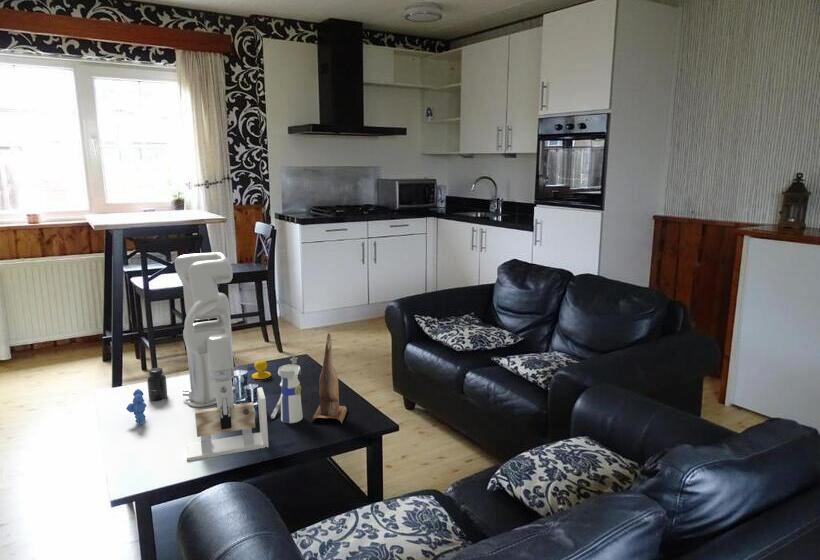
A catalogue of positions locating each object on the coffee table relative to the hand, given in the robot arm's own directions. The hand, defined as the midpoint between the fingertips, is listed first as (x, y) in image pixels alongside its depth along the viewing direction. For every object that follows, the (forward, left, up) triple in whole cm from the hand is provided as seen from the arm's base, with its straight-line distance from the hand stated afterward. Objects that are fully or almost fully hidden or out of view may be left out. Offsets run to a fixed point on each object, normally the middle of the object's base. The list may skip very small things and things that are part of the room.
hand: (226, 426), depth 190 cm
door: (0, 0, -2) cm, 2 cm away
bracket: (+5, +34, -8) cm, 35 cm away
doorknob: (-16, +62, -8) cm, 64 cm away
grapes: (-41, +13, -8) cm, 44 cm away
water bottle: (+13, +24, -8) cm, 28 cm away
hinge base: (0, 0, -7) cm, 7 cm away
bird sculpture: (+26, +27, -8) cm, 38 cm away
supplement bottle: (-47, +34, -8) cm, 59 cm away
